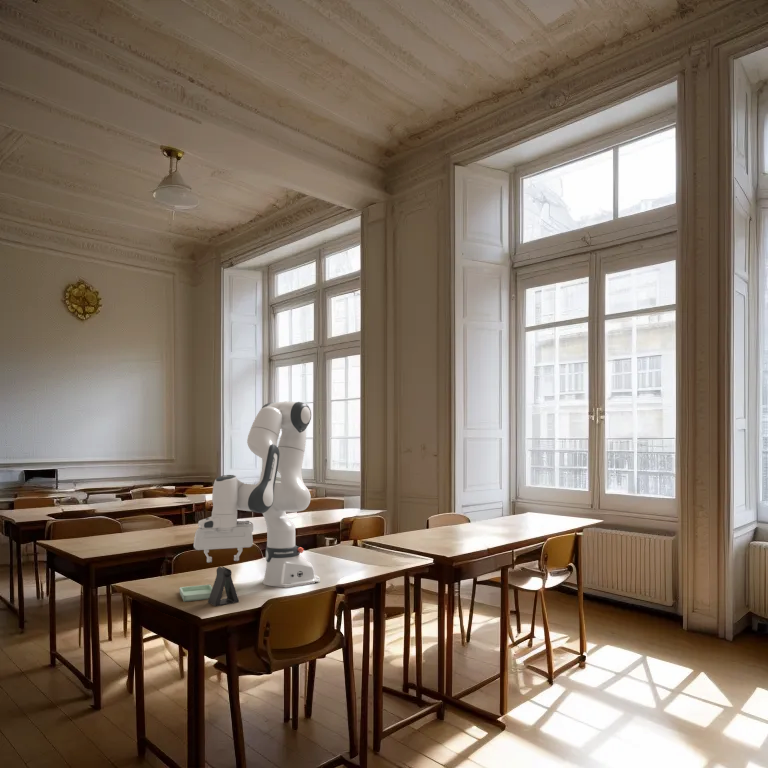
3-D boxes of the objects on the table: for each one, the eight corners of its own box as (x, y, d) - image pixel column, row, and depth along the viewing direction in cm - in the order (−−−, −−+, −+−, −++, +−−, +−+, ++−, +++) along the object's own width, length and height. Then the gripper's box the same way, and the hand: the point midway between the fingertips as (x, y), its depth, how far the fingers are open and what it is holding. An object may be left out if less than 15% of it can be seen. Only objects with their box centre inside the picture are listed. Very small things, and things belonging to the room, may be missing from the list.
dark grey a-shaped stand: (231, 598, 231) (232, 564, 231) (239, 602, 226) (239, 567, 227) (207, 602, 225) (208, 568, 226) (214, 606, 220) (215, 571, 221)
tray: (210, 589, 243) (210, 584, 243) (216, 598, 231) (216, 592, 231) (179, 592, 239) (179, 587, 239) (183, 601, 227) (183, 595, 227)
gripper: (251, 519, 234) (250, 558, 233) (193, 521, 226) (192, 561, 225) (255, 521, 229) (254, 561, 227) (196, 523, 220) (194, 564, 219)
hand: (222, 561), depth 226 cm, fingers open, 8 cm apart
